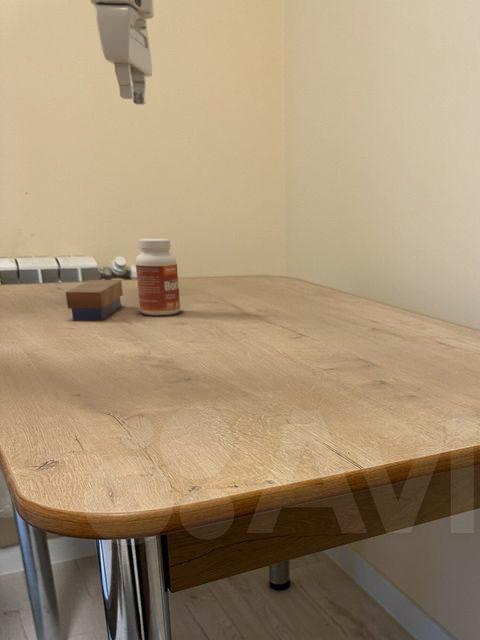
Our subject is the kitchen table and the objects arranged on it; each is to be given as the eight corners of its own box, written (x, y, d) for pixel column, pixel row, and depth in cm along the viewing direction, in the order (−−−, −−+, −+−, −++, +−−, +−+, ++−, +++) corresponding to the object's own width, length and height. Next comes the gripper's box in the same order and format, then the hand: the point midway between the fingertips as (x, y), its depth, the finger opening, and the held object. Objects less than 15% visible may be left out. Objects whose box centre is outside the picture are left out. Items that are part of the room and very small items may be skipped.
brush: (103, 321, 105) (100, 292, 104) (69, 320, 105) (65, 292, 103) (124, 306, 117) (121, 280, 116) (93, 306, 117) (89, 279, 115)
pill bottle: (173, 317, 109) (166, 241, 105) (134, 315, 109) (126, 240, 105) (186, 310, 115) (180, 238, 110) (149, 308, 115) (142, 237, 111)
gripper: (118, 15, 119) (128, 107, 125) (85, -15, 101) (97, 94, 106) (156, 16, 120) (164, 107, 125) (130, -14, 101) (140, 95, 107)
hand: (133, 101), depth 116 cm, fingers open, 8 cm apart
